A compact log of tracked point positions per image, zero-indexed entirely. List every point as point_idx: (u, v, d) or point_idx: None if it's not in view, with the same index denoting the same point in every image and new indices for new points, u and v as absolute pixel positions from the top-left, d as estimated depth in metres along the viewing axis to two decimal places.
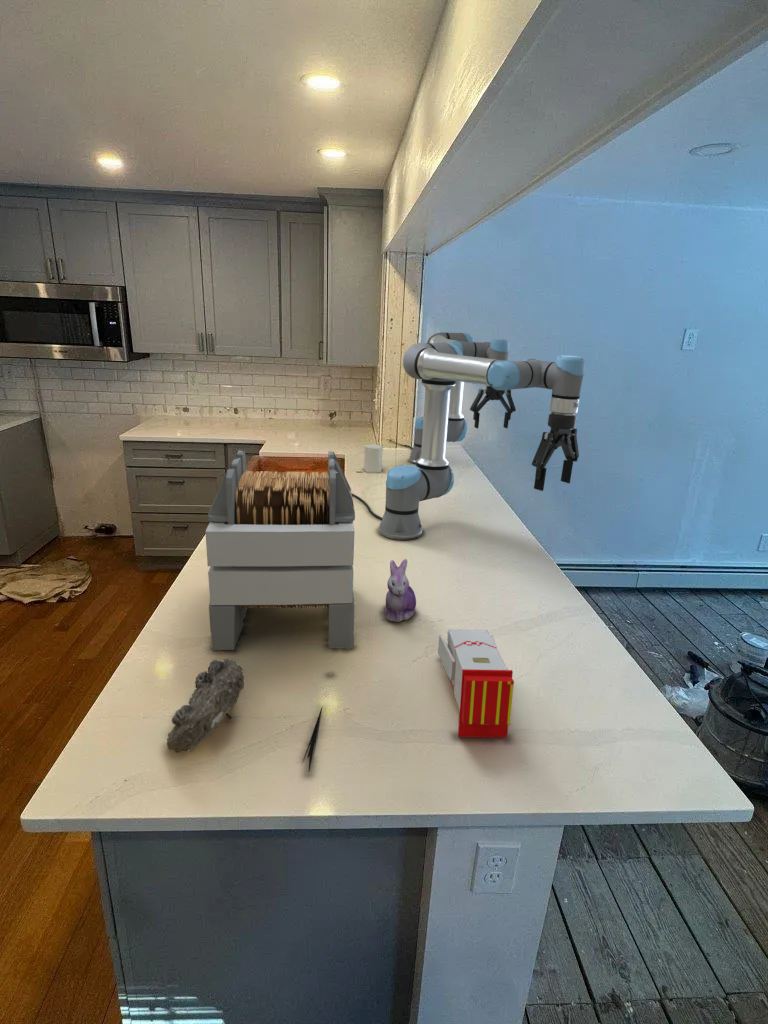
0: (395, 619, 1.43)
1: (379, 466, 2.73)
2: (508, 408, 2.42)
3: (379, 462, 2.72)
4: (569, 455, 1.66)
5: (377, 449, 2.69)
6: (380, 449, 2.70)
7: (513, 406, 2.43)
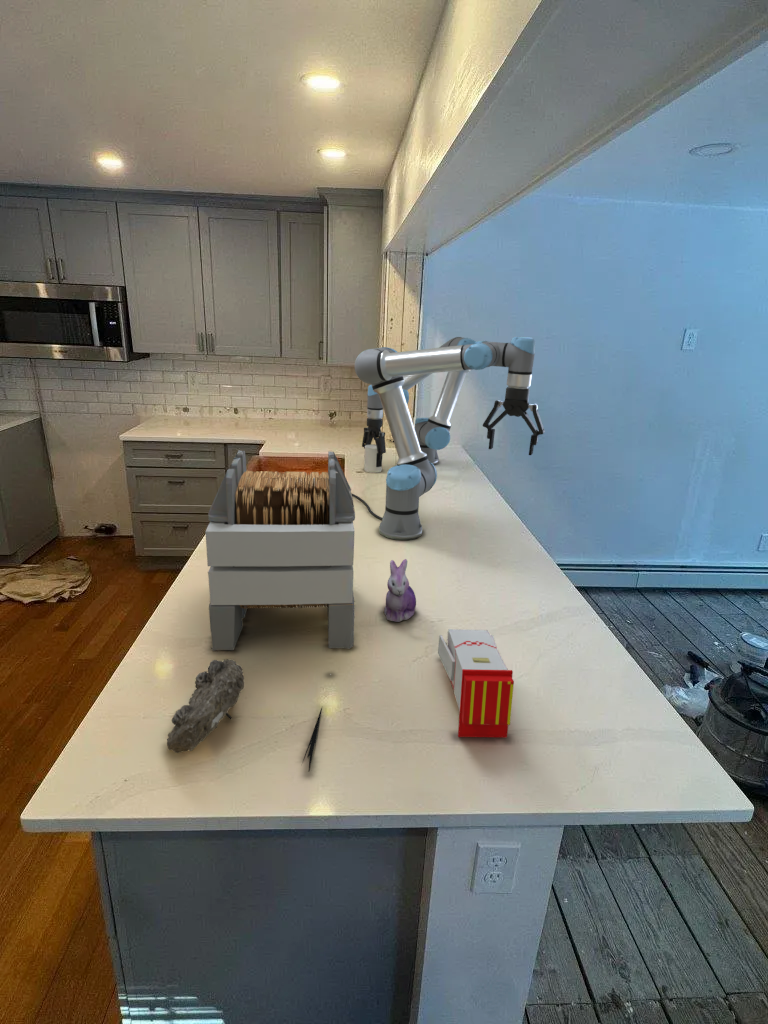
0: (395, 619, 1.43)
1: None
2: (377, 449, 2.68)
3: None
4: None
5: None
6: None
7: (380, 448, 2.66)
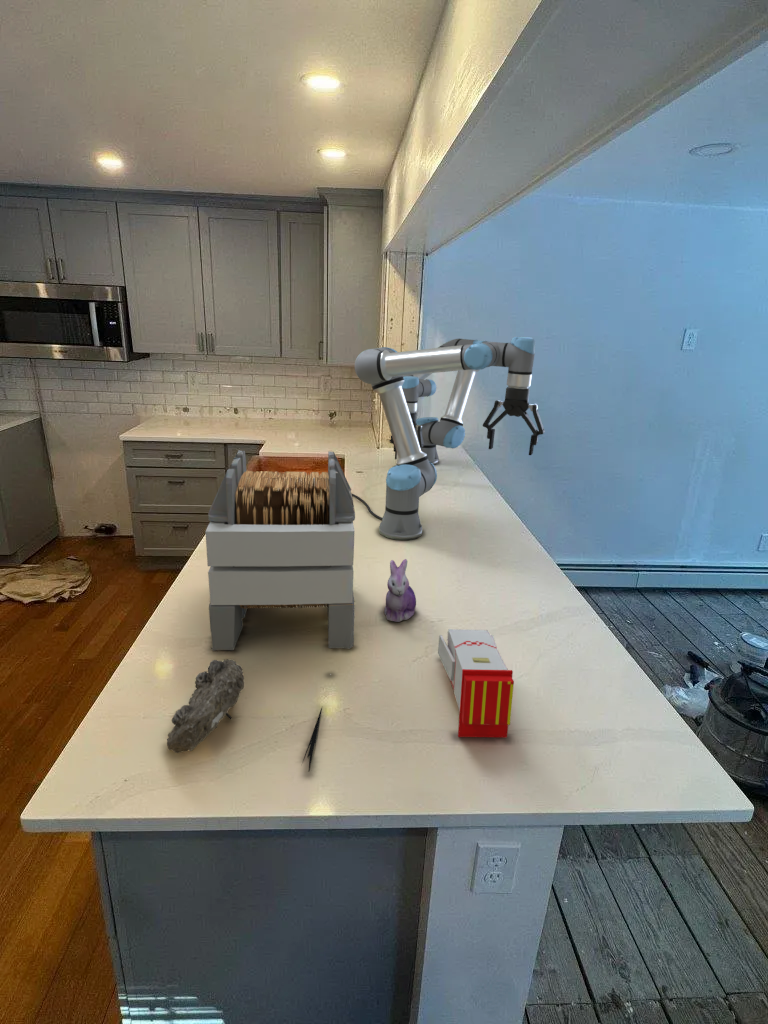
0: (395, 619, 1.43)
1: None
2: None
3: None
4: None
5: None
6: None
7: (420, 442, 2.56)
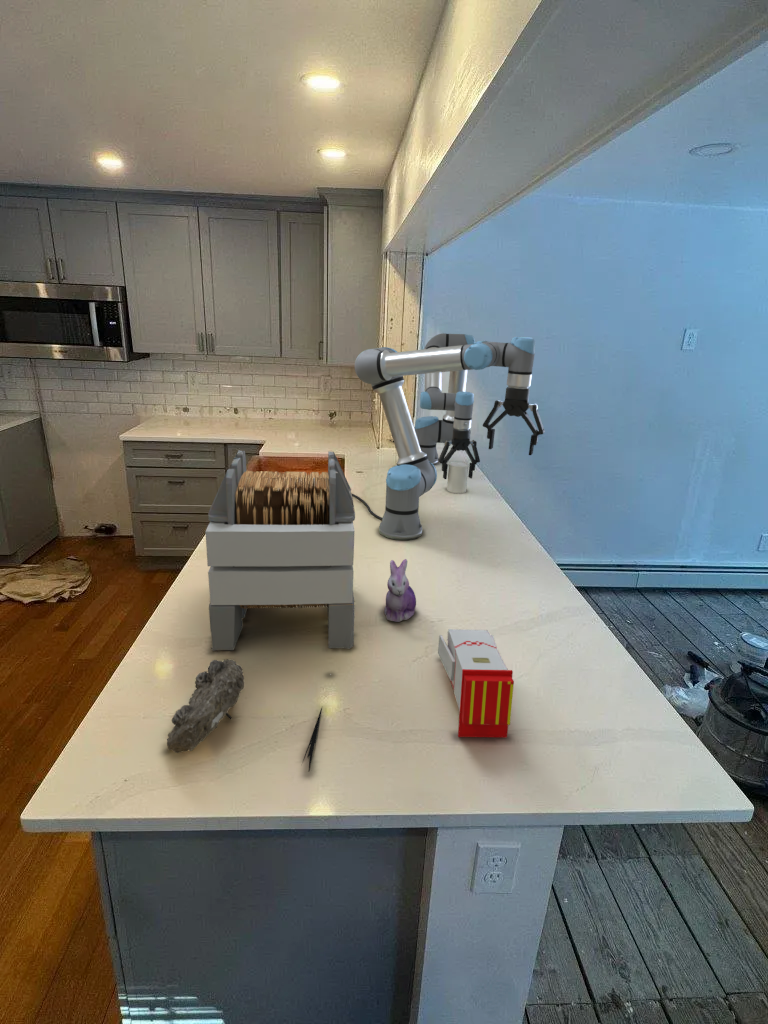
0: (395, 619, 1.43)
1: None
2: (472, 459, 2.47)
3: None
4: None
5: None
6: None
7: (477, 457, 2.47)
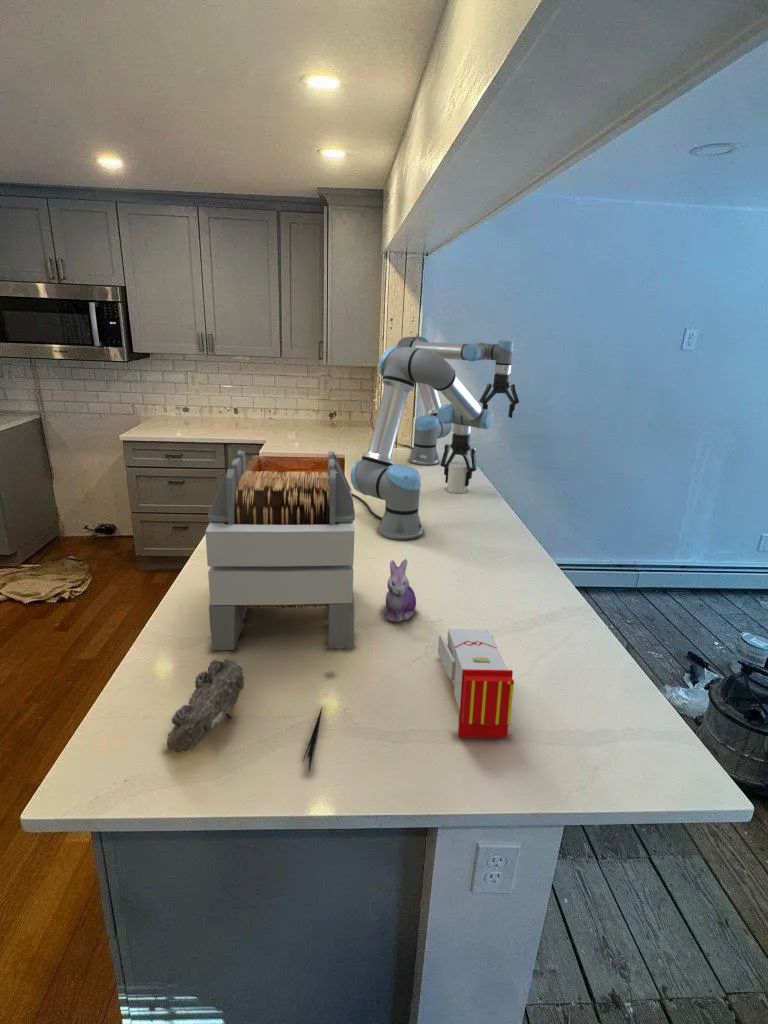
0: (395, 619, 1.43)
1: None
2: (512, 400, 2.79)
3: None
4: (450, 462, 2.50)
5: None
6: None
7: (517, 398, 2.79)
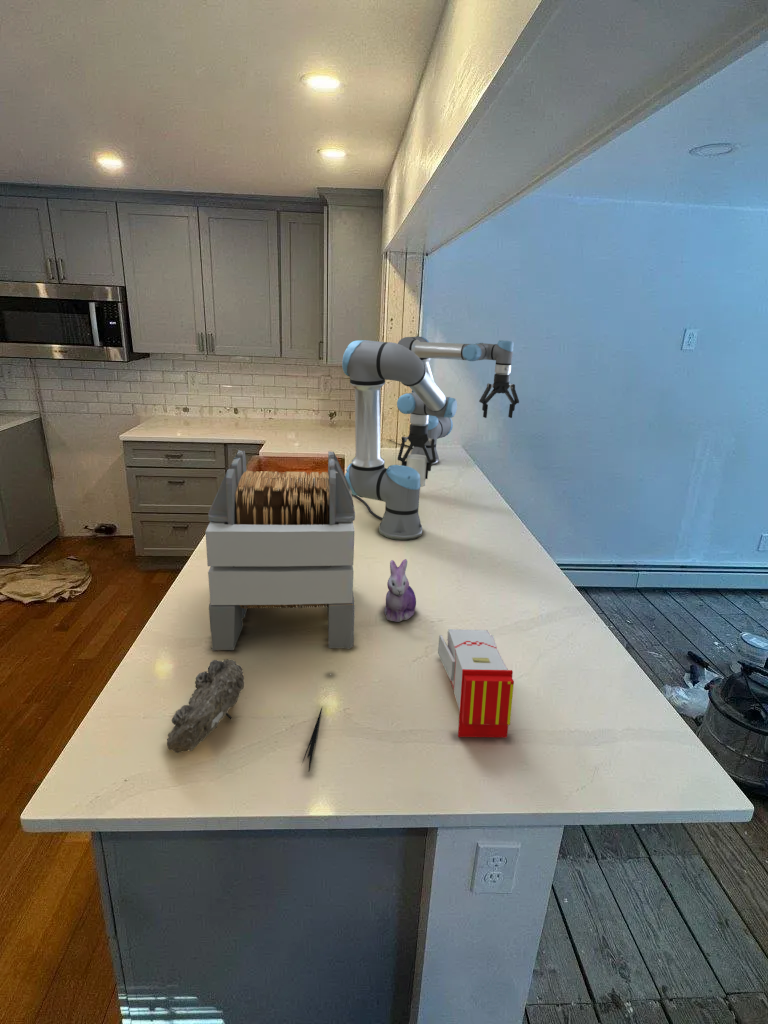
0: (395, 619, 1.43)
1: None
2: (512, 400, 2.79)
3: None
4: None
5: None
6: None
7: (517, 398, 2.79)
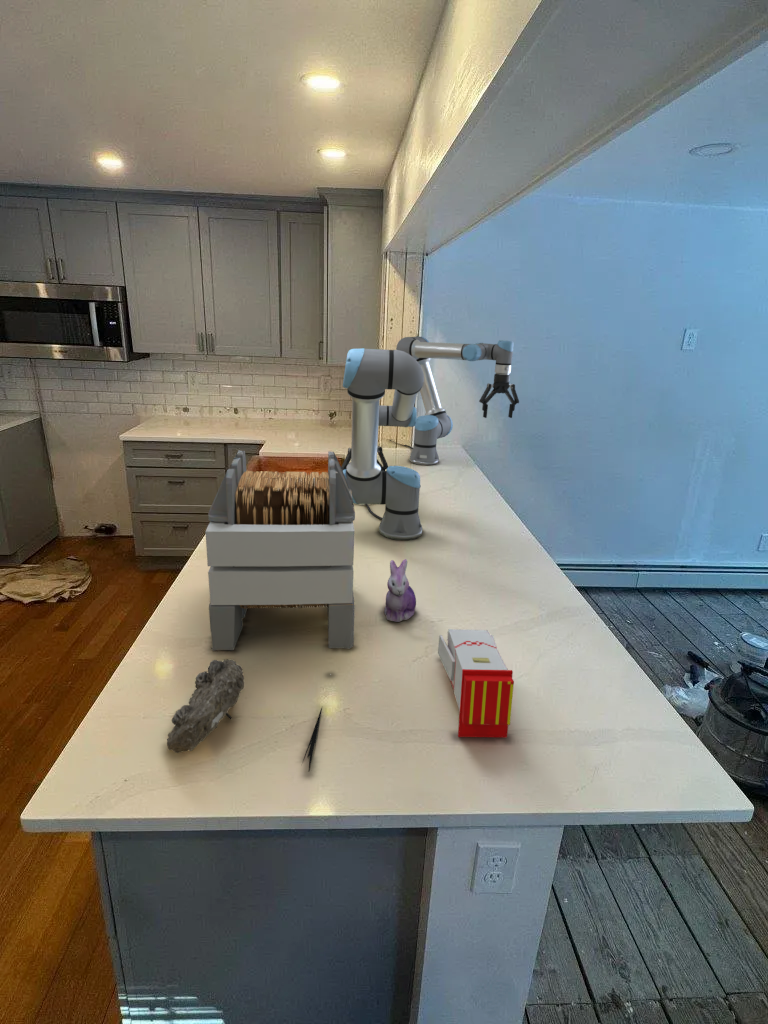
0: (395, 619, 1.43)
1: None
2: (512, 400, 2.79)
3: None
4: None
5: None
6: None
7: (517, 398, 2.79)
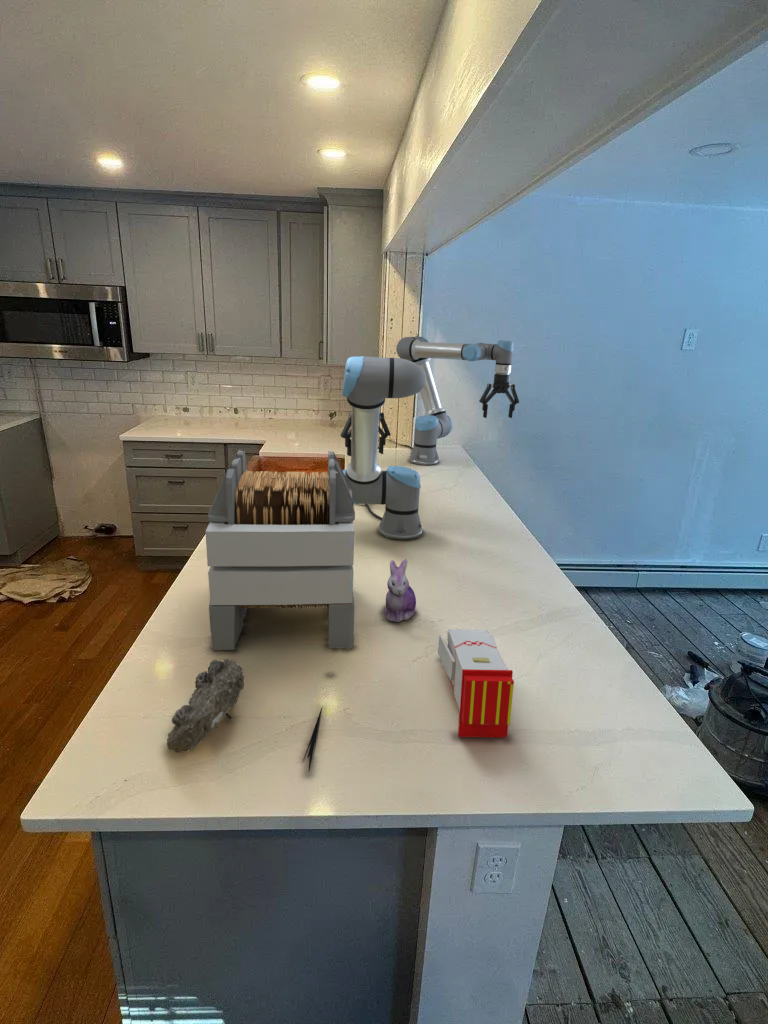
0: (395, 619, 1.43)
1: None
2: (512, 400, 2.79)
3: None
4: None
5: None
6: None
7: (517, 398, 2.79)
